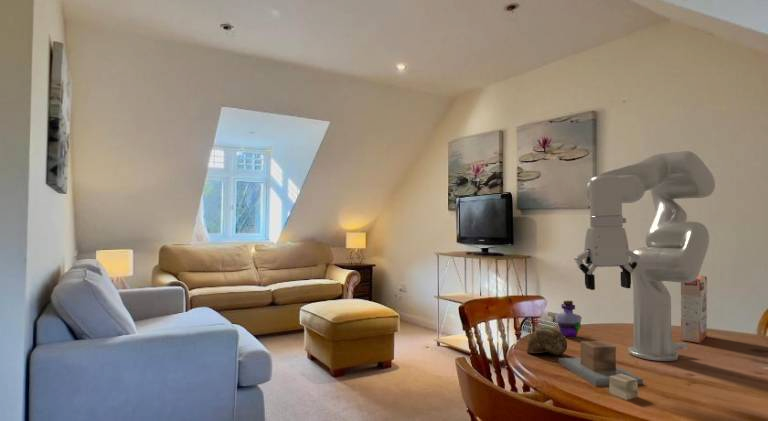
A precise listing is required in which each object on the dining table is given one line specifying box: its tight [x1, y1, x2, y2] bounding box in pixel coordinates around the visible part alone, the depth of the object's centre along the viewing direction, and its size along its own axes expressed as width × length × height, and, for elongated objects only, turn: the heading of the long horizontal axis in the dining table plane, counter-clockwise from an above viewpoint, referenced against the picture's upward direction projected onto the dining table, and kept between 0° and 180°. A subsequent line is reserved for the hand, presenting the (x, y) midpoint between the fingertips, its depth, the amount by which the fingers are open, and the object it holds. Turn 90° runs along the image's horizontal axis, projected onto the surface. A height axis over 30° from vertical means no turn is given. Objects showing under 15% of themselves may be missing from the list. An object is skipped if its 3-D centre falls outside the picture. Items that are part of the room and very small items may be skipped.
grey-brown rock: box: [525, 326, 568, 356], centre depth 133 cm, size 11×9×8 cm
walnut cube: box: [580, 340, 617, 371], centre depth 116 cm, size 6×6×6 cm
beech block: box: [608, 374, 639, 401], centre depth 101 cm, size 4×4×4 cm
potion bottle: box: [555, 300, 583, 338], centre depth 154 cm, size 9×9×12 cm
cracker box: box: [680, 274, 708, 344], centre depth 152 cm, size 14×6×21 cm, turn 137°
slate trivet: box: [557, 357, 644, 387], centre depth 116 cm, size 12×18×1 cm, turn 6°
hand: (608, 288), depth 117 cm, fingers open, 9 cm apart
